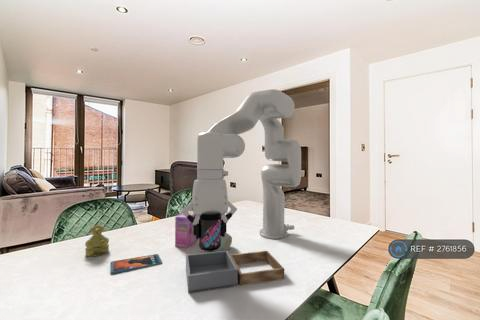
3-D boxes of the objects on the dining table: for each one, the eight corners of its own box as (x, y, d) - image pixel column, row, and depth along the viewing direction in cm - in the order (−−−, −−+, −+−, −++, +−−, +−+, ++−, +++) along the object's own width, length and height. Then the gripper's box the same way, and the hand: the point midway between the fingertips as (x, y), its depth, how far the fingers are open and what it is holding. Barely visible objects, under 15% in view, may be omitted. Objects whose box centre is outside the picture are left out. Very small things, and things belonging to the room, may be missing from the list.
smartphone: (162, 262, 77) (110, 272, 70) (162, 266, 77) (110, 276, 70) (158, 252, 84) (110, 260, 77) (158, 256, 84) (110, 264, 77)
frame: (267, 259, 81) (267, 250, 81) (284, 278, 68) (284, 268, 68) (229, 263, 77) (229, 254, 77) (240, 285, 65) (240, 274, 65)
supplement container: (195, 251, 66) (195, 213, 66) (201, 242, 72) (201, 208, 72) (219, 252, 65) (219, 214, 65) (222, 243, 72) (223, 209, 72)
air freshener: (222, 256, 83) (222, 228, 83) (201, 253, 86) (201, 225, 86) (233, 245, 93) (233, 220, 93) (214, 242, 96) (215, 218, 96)
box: (188, 248, 91) (188, 217, 90) (174, 246, 92) (174, 216, 91) (198, 238, 101) (198, 211, 100) (186, 237, 102) (186, 210, 102)
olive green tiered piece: (113, 250, 88) (113, 223, 88) (95, 258, 81) (95, 229, 81) (98, 247, 90) (98, 221, 90) (80, 255, 83) (79, 227, 83)
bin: (227, 264, 77) (227, 250, 77) (237, 285, 65) (237, 269, 64) (185, 269, 74) (185, 254, 74) (188, 293, 61) (188, 275, 61)
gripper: (236, 174, 74) (235, 230, 75) (179, 174, 70) (178, 234, 70) (242, 176, 67) (242, 238, 68) (179, 177, 63) (179, 243, 63)
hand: (209, 235), depth 69 cm, fingers closed on supplement container, 6 cm apart
